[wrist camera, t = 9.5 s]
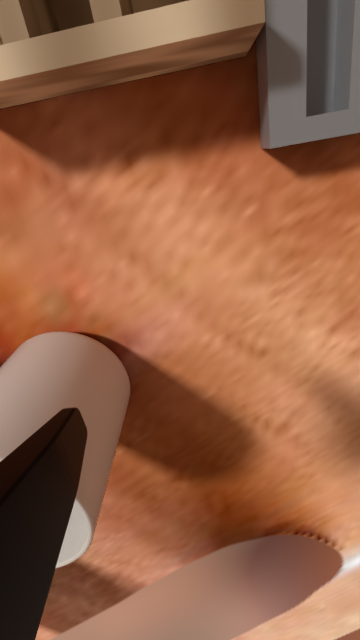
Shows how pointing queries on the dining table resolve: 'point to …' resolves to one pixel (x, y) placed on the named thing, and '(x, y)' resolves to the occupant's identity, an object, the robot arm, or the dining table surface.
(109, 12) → the rack
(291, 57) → the stand
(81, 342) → the mug
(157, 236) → the dining table surface
